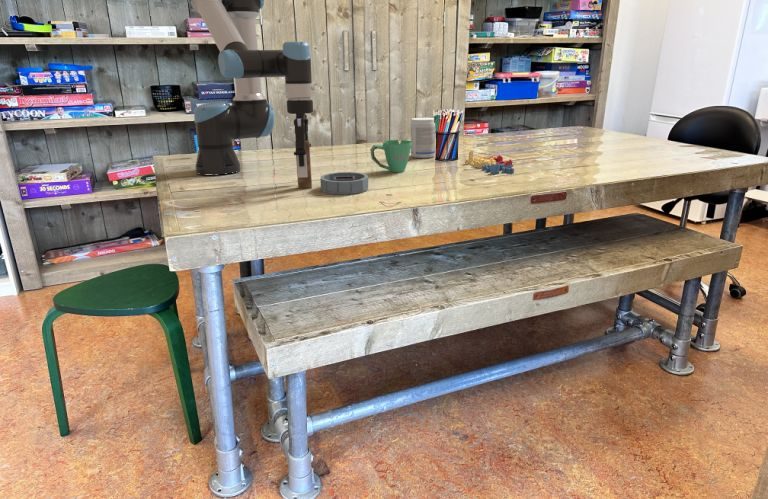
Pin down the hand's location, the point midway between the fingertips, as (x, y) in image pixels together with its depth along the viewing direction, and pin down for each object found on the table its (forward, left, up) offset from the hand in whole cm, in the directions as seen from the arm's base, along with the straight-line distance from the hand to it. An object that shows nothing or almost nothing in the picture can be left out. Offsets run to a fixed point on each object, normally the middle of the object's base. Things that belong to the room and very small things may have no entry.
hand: (304, 172), depth 163 cm
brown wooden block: (0, 0, -5) cm, 5 cm away
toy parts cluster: (+64, +34, -5) cm, 73 cm away
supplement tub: (+43, +49, -5) cm, 65 cm away
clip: (+12, -3, -5) cm, 13 cm away
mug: (+28, +21, -5) cm, 35 cm away
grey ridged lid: (+12, -3, -5) cm, 13 cm away
